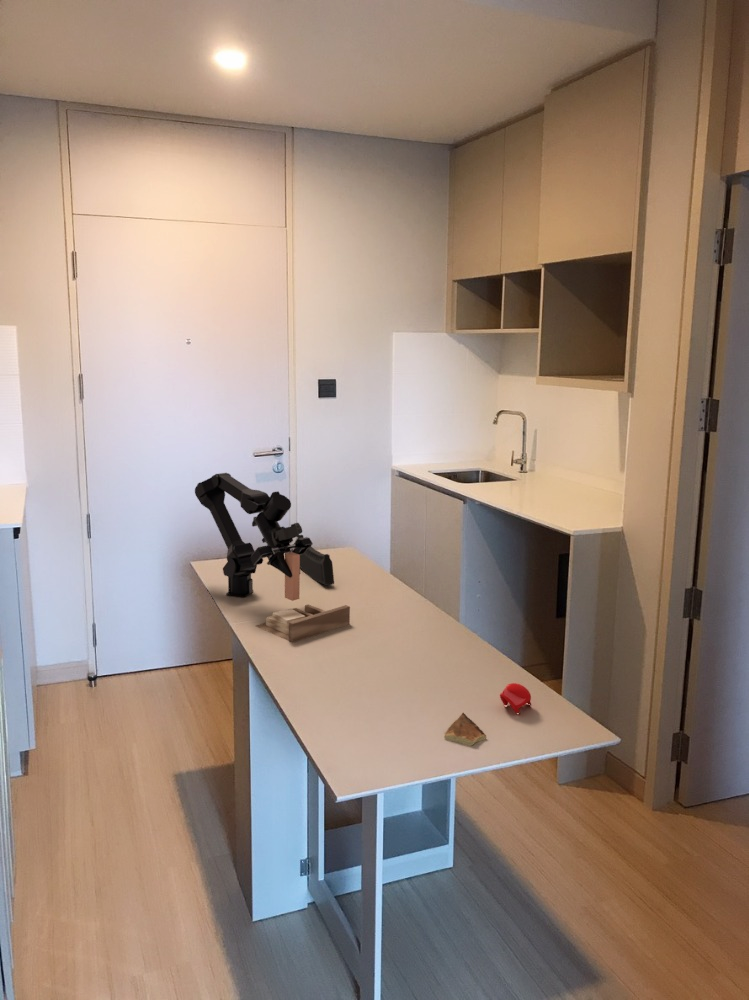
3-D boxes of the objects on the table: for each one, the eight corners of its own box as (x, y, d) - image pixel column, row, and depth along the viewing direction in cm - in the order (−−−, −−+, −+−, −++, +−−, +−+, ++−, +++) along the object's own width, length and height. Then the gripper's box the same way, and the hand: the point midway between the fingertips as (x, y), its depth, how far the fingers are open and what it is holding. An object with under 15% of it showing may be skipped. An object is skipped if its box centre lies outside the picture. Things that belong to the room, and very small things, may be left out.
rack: (255, 629, 216) (255, 608, 215) (311, 612, 230) (311, 592, 229) (292, 646, 205) (292, 623, 204) (349, 627, 219) (349, 606, 218)
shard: (462, 718, 169) (462, 710, 169) (496, 727, 166) (497, 719, 165) (442, 740, 160) (442, 732, 159) (478, 750, 156) (479, 742, 156)
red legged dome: (513, 706, 167) (535, 689, 168) (495, 688, 171) (516, 671, 172) (518, 724, 173) (539, 707, 174) (500, 706, 177) (521, 689, 178)
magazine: (337, 562, 249) (305, 516, 273) (328, 563, 248) (296, 516, 272) (331, 607, 257) (300, 558, 281) (321, 608, 256) (291, 559, 279)
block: (284, 597, 227) (284, 553, 224) (291, 595, 229) (291, 552, 226) (292, 600, 225) (292, 556, 222) (299, 598, 226) (299, 554, 224)
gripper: (256, 519, 218) (281, 567, 213) (308, 510, 231) (333, 554, 226) (239, 541, 225) (263, 588, 220) (291, 531, 238) (315, 575, 233)
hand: (295, 575), depth 224 cm, fingers closed on block, 2 cm apart
